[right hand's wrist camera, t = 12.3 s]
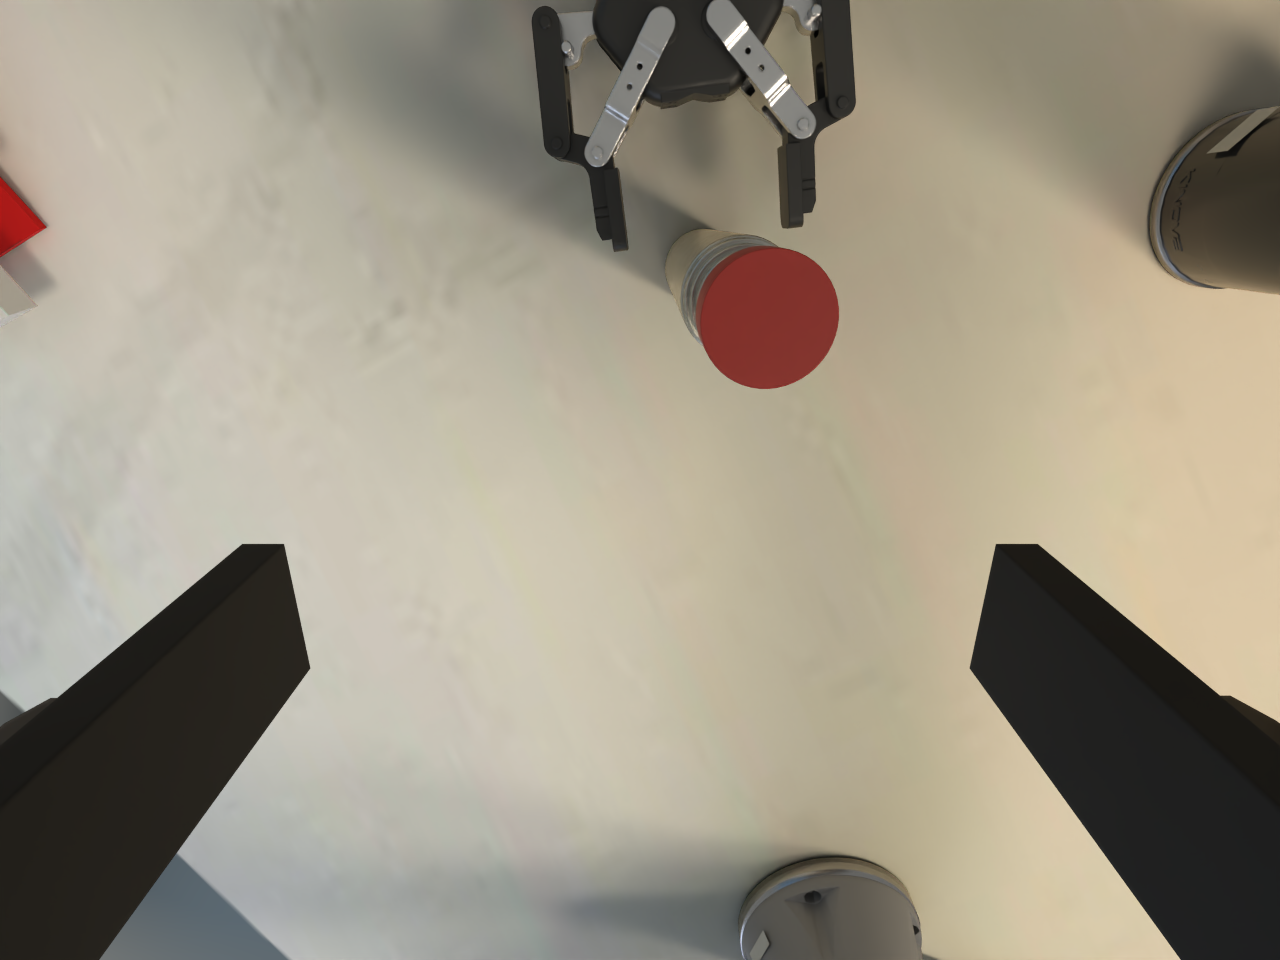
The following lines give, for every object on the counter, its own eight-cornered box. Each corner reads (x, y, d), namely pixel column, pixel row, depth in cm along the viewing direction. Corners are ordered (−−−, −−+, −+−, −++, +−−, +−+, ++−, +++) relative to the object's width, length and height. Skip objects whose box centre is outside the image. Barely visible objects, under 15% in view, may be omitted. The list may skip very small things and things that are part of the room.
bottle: (721, 215, 39) (812, 210, 19) (750, 286, 41) (864, 355, 20) (652, 249, 40) (666, 281, 19) (683, 318, 41) (726, 417, 21)
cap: (796, 221, 20) (810, 222, 18) (841, 343, 21) (858, 353, 20) (674, 281, 21) (677, 286, 19) (725, 396, 22) (732, 410, 20)
